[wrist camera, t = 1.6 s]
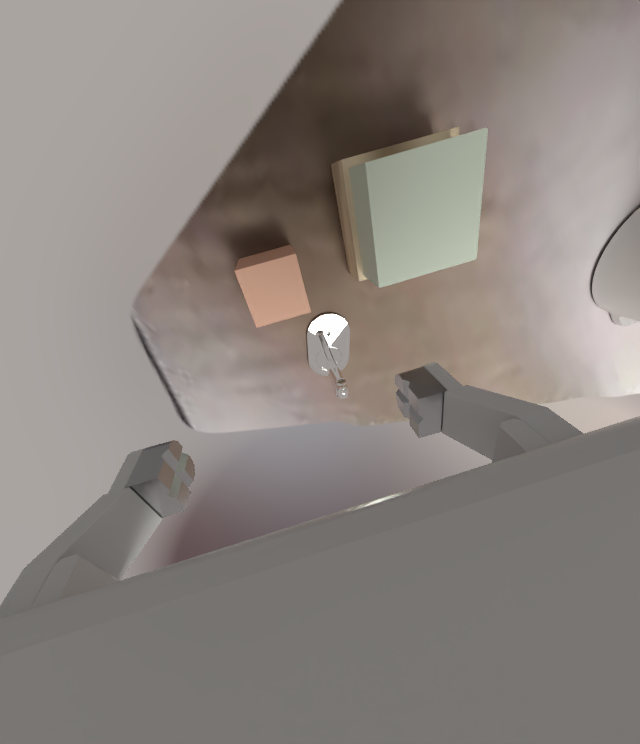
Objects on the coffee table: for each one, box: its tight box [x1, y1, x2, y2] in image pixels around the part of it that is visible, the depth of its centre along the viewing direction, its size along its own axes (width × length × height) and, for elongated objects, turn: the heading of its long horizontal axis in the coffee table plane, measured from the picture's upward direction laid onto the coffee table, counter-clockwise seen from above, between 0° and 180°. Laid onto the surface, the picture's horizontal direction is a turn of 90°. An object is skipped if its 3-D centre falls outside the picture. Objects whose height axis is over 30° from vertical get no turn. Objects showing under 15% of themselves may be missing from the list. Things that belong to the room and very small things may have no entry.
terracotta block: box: [235, 245, 311, 327], centre depth 25 cm, size 5×5×5 cm
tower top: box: [349, 127, 488, 288], centre depth 21 cm, size 8×8×4 cm
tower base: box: [331, 127, 459, 281], centre depth 24 cm, size 9×9×4 cm
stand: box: [307, 313, 350, 399], centre depth 29 cm, size 8×5×8 cm
